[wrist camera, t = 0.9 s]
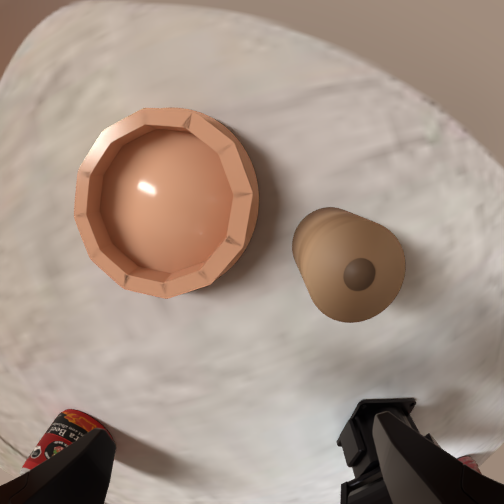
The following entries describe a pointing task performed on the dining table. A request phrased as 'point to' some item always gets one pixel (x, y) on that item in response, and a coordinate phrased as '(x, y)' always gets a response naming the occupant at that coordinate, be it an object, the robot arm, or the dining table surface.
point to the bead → (348, 264)
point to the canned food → (61, 436)
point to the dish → (166, 201)
